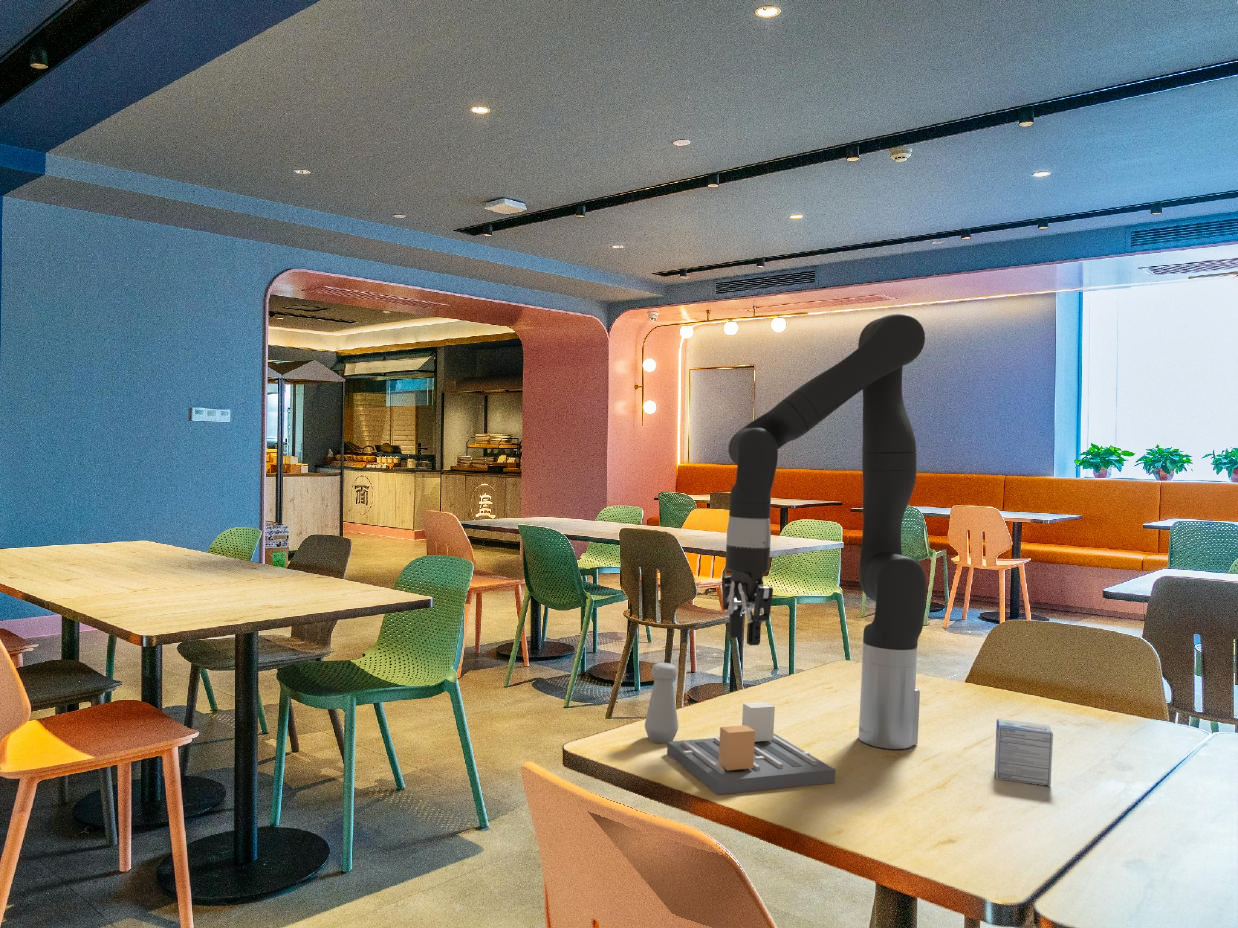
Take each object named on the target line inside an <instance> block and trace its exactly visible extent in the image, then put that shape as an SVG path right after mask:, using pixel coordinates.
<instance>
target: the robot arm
mask: <svg viewBox="0 0 1238 928" xmlns="http://www.w3.org/2000/svg"><path fill="white" fill-rule="evenodd" d="M925 343H926V333H925V329H924V327H923V325H922V323H920V321H919V320H918V319H917V318H916V317H914V316H912V315H911V314H905V313H893V314H888V315H885V316H883V317H879V318H877V319H874V320H872V321H870V322H869V323H868V324H866V325H865V326H864V328H863V329H862V330H861V332H860V334H859V337H858V343H857V344H858V347H857V349H855V350H854V351H852V353H850V354H849V355H848V356H846V357H845V358H843V359H842V360H841V361H839V362H837V363H836V364H834V365H833V366H831V367H830V368H828V369H826V370H825V371H823V372H821V373H820V374H818V375H816V376H815V377H813V378H811V379H810V380H808V381H807V382H805V383H804V384H802V385H801V386H799V387H798V388H797V389H796V390H794V391H792V392H791V393H790V394H789V395H788V396H786V397H785V398H784V399H782V400H781V401H779V402H778V403H777V404H776V405H775V406H774V407H773V408H772V409H770V410H768V411H767V412H766V413H764V414H762V415H761V416H759V417H757V418H756V419H754V420H753V421H751V422H749V423H748V424H746V425H745V426H743V427H742V428H740V430H738V431H737V432H736V433H734V434H733V436H732V437H731V439H730V440H729V444H728V448H727V449H728V455H729V458H730V460H731V461H732V462H733V463H734V464H735V465H736V466H737V468H736V477H735V478H736V479H735V483H734V484H733V485H732V487H731V490H730V494H729V510H728V513H729V514H728V522H727V528H726V545H725V546H726V548H725V565H724V566H725V570H728V571H729V572H731V575H726V576H725V575H724V576H722V578H721V589H722V590H721V591H722V592H721V593H722V595H721V596H722V597H721V598H722V609H723V610H724V611H726V612H727V615H728V616H729V619H728V621H729V623H728V627H729V628H728V637H729V638H731V639H735V638H741V637H742V635H743V633H742V632H743V617H744V616H742V615H743V613H744V611H745V612H746V618H747V624H746V625H747V628H746V644H747V645H748V646H759V645H760V644H761V631H762V630H761V628H762V624H763V623H764V622H768V621H769V620H770V617H771V609H772V600H773V595H774V594H773V593H774V588H773V586H772V585H771V586H766V585H764V579H763V574H764V573H768V572H769V571H770V560H771V559H770V558H771V538H772V537H771V536H772V531H771V530H772V528H771V508H772V507H771V506H772V505H771V503H772V502H771V501H772V497H771V495H772V494H771V493H772V489H773V486H774V485H773V484H774V480H775V476H776V470H777V465H778V456H779V451H778V450H780V448H782V447H783V446H784V445H786V444H787V443H789V442H792V441H795V440H797V439H799V438H801V437H802V436H804V435H805V434H807V433H808V432H809V431H811V430H812V429H813V428H815V427H817V425H818V424H820V423H821V422H822V421H824V420H825V419H826V418H828V417H829V416H830V415H831V414H832V413H834V412H835V411H837V410H838V409H839V408H840V407H841V406H842V405H844V404H845V403H847V402H848V401H849V400H850V399H852V398H853V397H854V396H855V395H857V394H858V393H860V392H861V391H862V448H861V450H862V453H861V454H862V460H861V461H862V462H861V463H862V465H861V466H862V469H861V470H862V520H863V522H862V523H863V524H862V536H861V537H862V539H861V546H860V547H861V548H860V557H859V565H858V579H859V585H860V588H861V590H862V592H863V593H864V595H865V596H866V597H867V598H868V599H870V600H872V601H874V602H875V608H874V617H873V619H872V622H870V623H868V624H867V625H865V626H864V628H863V634H862V635H863V636H862V654H861V655H862V656H861V657H862V658H861V659H862V660H861V678H860V679H861V681H860V698H859V699H860V700H859V702H860V703H859V718H858V719H859V720H858V724H859V725H858V739H859V740H860V741H861V742H863V743H865V744H866V745H869V746H872V747H877V748H881V749H887V750H888V749H889V750H905V749H909V748H911V747H912V746H915V745H918V740H919V739H918V738H919V723H920V721H919V720H920V702H921V701H920V700H921V699H920V698H921V697H920V696H921V691H920V690H919V689H917V688H916V685H917V665H918V664H917V663H918V662H917V661H918V645H919V644H918V641H919V637H920V635H921V633H922V632H923V627H924V623H925V622H924V620H925V610H926V600H927V577H926V573H925V570H924V568H923V566H922V565H921V564H920V563H919V561H917V560H916V559H914V558H912V557H909V556H906V555H903V552H902V551H903V549H902V525H903V520H904V517H905V513H906V510H907V508H908V505H909V503H910V500H911V498H912V495H913V492H914V488H915V485H916V481H917V442H916V441H917V440H916V437H915V433H914V430H913V427H912V424H911V421H910V417H909V415H908V412H907V409H906V407H905V403H904V396H903V370H904V369H903V368H904V366H907V365H909V364H910V363H912V362H913V361H914V360H915V359H917V358H918V357H919V356H920V354H921V352H922V351H923V349H924V347H925ZM763 609H764V610H763Z"/></svg>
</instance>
